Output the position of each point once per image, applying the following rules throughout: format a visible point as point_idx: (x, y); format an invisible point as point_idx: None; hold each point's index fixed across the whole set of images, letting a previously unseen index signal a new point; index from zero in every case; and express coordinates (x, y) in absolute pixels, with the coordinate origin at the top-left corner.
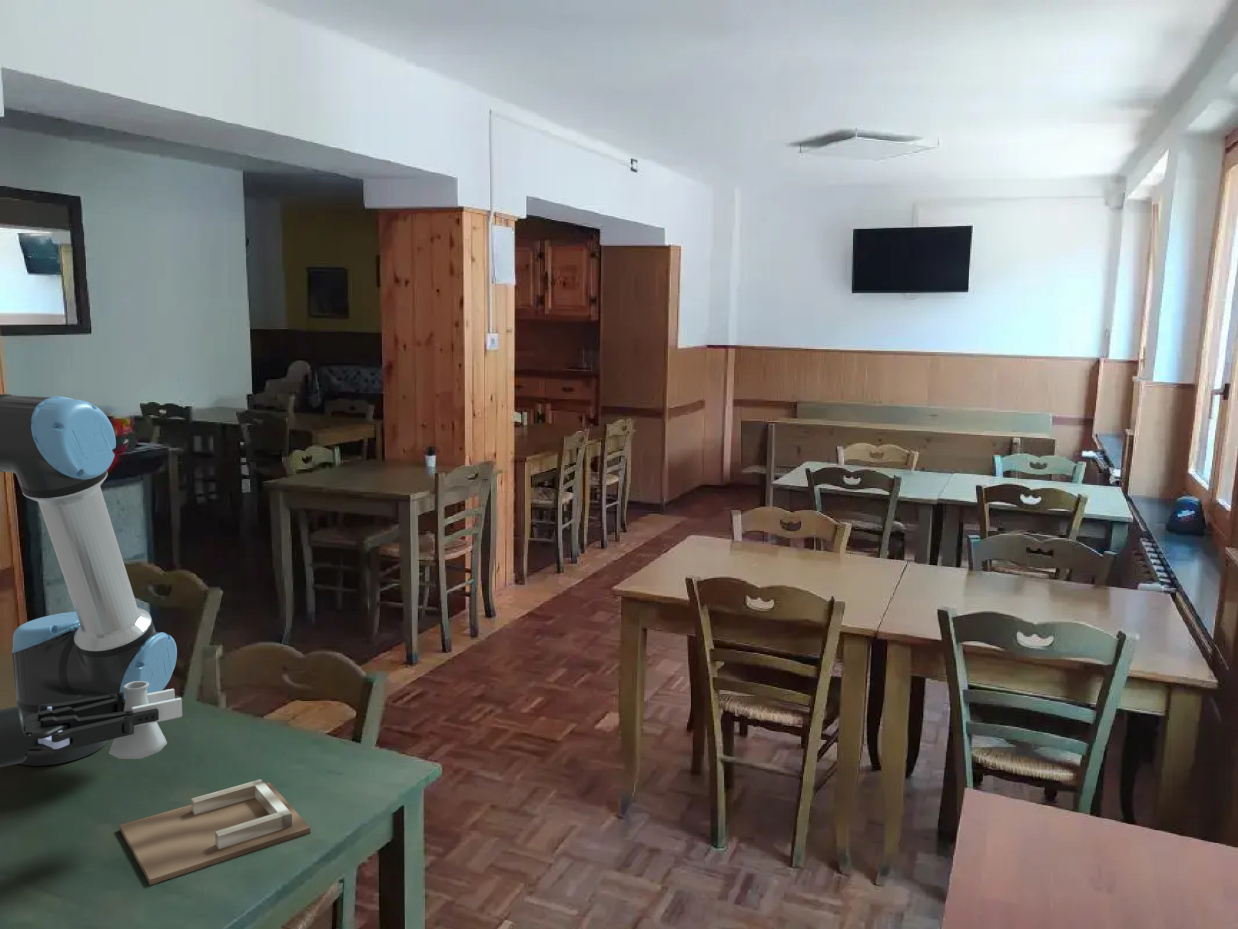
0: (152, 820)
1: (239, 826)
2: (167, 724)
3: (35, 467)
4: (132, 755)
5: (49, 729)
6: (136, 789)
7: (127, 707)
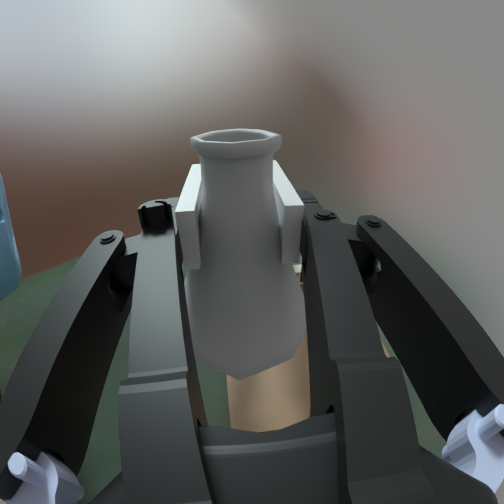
0: (244, 393)
1: None
2: (10, 314)
3: None
4: (303, 328)
5: (464, 493)
6: (115, 390)
7: (252, 220)
